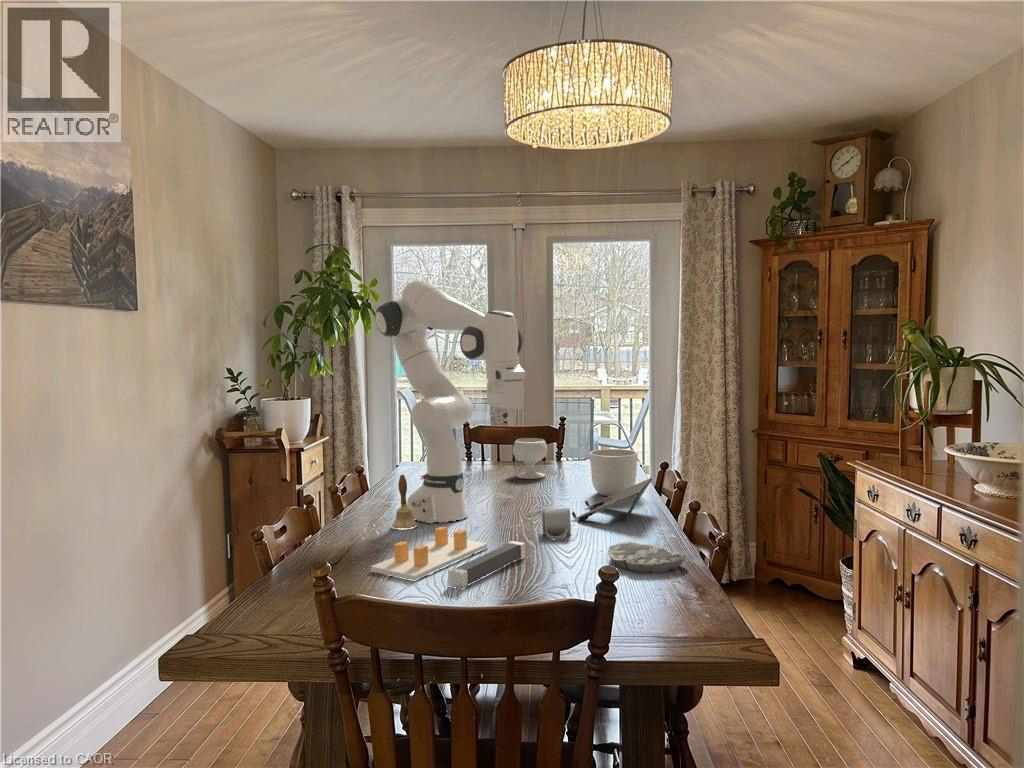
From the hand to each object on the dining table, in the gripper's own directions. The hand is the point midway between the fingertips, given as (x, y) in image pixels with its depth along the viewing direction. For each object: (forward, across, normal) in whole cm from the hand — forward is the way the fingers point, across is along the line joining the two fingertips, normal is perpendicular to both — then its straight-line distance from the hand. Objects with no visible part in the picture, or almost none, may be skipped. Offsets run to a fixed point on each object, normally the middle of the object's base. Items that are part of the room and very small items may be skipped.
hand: (505, 424), depth 188 cm
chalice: (+33, -92, +40) cm, 106 cm away
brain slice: (+36, +22, +27) cm, 50 cm away
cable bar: (+34, +13, -10) cm, 38 cm away
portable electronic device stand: (+35, -23, +42) cm, 59 cm away
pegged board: (+34, -1, -21) cm, 40 cm away
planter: (+34, -50, +56) cm, 83 cm away
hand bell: (+33, -36, -22) cm, 54 cm away
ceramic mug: (+34, -10, +18) cm, 40 cm away
